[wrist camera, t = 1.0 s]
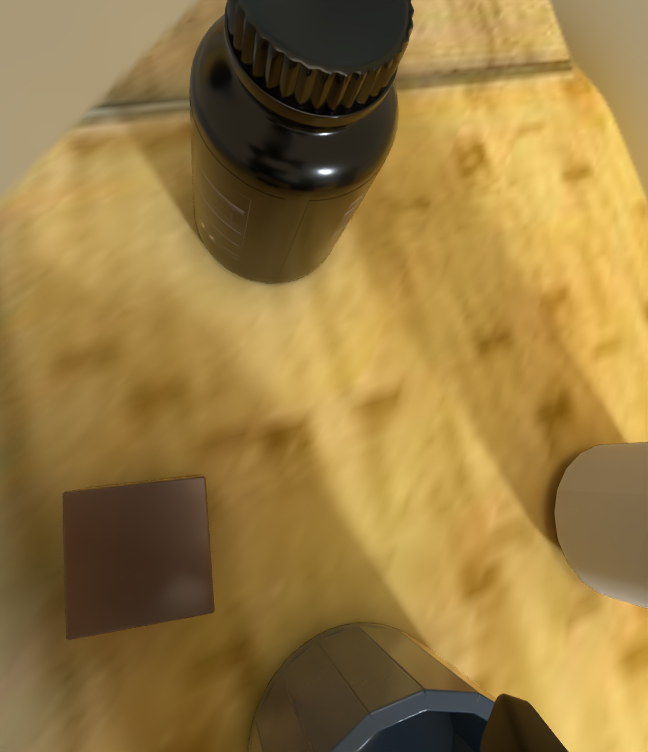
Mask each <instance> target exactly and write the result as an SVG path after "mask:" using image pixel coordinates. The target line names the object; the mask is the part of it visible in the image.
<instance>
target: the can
mask: <svg viewBox="0 0 648 752" xmlns="http://www.w3.org/2000/svg"><path fill="white" fill-rule="evenodd" d="M554 516H555V523H556V530H557V537H558V541H559V543H560V546H561V548H562V551H563V553H564V555H565V558H566V560H567V563H568V564H569V565H570V566H571V568H572V569H573V570H574V572H575V573H576V574H577V575H578V577H579V578H580V579H581V580H582V582H584V583H585V584H587V585H588V586H589V587H591V588H592V589H594V590H595V591H597V592H598V593H600V594H601V595H605V596H608V597H611V598H614V599H618V600H621V601H624V602H627V603H631V604H634V605H637V606H640V607H644V608H647V609H648V442H639V443H622V444H606V445H596V446H594V447H592V448H590V449H588V450H586V451H584V452H582V453H580V454H579V455H578V456H577V458H576V459H575V460H574V461H573V462H572V463H571V464H570V465H569V466H568V467H567V469H566V471H565V473H564V475H563V477H562V480H561V482H560V484H559V487H558V489H557V496H556V504H555V512H554Z"/></svg>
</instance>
